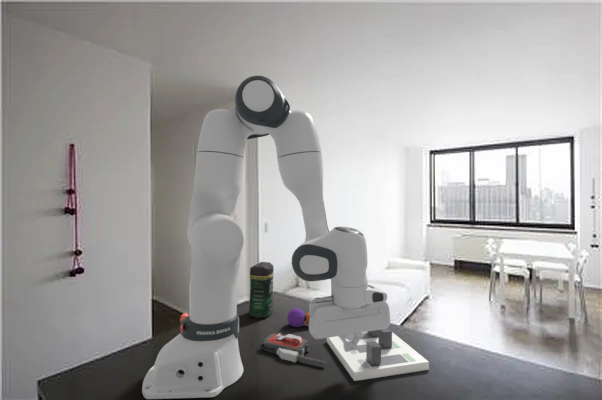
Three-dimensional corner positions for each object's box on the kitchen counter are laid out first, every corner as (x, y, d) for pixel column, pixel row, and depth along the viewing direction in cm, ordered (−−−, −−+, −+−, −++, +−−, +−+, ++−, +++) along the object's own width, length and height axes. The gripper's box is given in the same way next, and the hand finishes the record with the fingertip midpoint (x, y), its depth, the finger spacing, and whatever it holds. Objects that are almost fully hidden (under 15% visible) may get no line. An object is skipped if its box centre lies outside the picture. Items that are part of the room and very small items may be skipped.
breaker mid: (383, 347, 84) (384, 332, 84) (378, 342, 87) (378, 327, 87) (391, 346, 85) (391, 331, 85) (386, 341, 88) (386, 326, 87)
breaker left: (371, 336, 91) (371, 322, 91) (367, 331, 94) (367, 318, 94) (379, 335, 91) (379, 321, 91) (374, 331, 94) (374, 317, 94)
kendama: (349, 320, 99) (287, 313, 100) (347, 336, 100) (286, 330, 101) (348, 309, 105) (289, 303, 106) (346, 325, 106) (288, 319, 107)
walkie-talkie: (255, 354, 85) (324, 371, 78) (255, 338, 85) (324, 353, 77) (270, 341, 93) (334, 354, 86) (270, 326, 93) (334, 338, 86)
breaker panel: (354, 381, 73) (354, 372, 73) (326, 341, 92) (326, 334, 92) (428, 369, 78) (428, 361, 78) (387, 334, 97) (387, 328, 97)
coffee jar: (268, 320, 108) (268, 266, 108) (246, 318, 110) (246, 265, 109) (276, 310, 117) (276, 260, 117) (256, 308, 119) (256, 259, 119)
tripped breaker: (371, 364, 76) (372, 347, 75) (366, 358, 78) (366, 342, 78) (380, 363, 76) (381, 346, 76) (375, 357, 79) (375, 341, 79)
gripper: (312, 303, 70) (313, 364, 70) (393, 293, 75) (394, 349, 76) (304, 294, 76) (305, 350, 76) (379, 286, 81) (380, 338, 82)
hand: (350, 350), depth 76 cm, fingers closed
